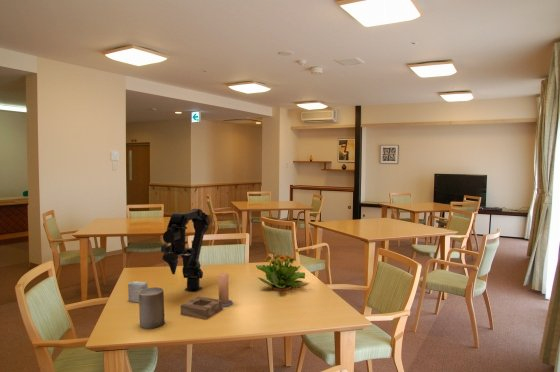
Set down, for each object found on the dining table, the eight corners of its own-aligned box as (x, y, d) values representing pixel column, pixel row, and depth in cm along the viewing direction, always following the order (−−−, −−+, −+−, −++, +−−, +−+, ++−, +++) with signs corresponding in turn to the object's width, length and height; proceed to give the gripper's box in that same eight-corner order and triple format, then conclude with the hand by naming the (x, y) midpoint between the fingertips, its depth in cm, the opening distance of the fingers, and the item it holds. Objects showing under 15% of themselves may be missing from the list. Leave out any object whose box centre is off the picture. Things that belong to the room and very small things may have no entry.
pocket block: (198, 304, 184) (198, 296, 183) (222, 309, 178) (222, 300, 178) (180, 314, 172) (180, 305, 172) (205, 319, 166) (205, 310, 166)
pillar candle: (167, 319, 167) (166, 283, 166) (161, 328, 157) (159, 291, 156) (143, 319, 167) (142, 284, 166) (136, 329, 157) (134, 292, 156)
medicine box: (148, 300, 190) (148, 282, 189) (142, 303, 186) (142, 285, 185) (134, 298, 192) (133, 280, 191) (128, 301, 188) (127, 283, 187)
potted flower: (298, 298, 192) (298, 262, 191) (251, 294, 197) (251, 260, 196) (305, 282, 217) (306, 251, 216) (263, 280, 222) (263, 249, 221)
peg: (222, 300, 187) (222, 272, 187) (230, 301, 186) (230, 274, 185) (216, 303, 183) (216, 275, 183) (225, 304, 181) (224, 276, 181)
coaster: (221, 300, 190) (221, 298, 190) (235, 302, 186) (235, 300, 186) (211, 305, 183) (211, 303, 182) (226, 308, 179) (226, 306, 179)
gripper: (176, 235, 202) (176, 266, 203) (152, 241, 185) (152, 274, 185) (195, 237, 198) (195, 268, 199) (172, 243, 181) (172, 277, 181)
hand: (179, 271), depth 191 cm, fingers open, 9 cm apart
